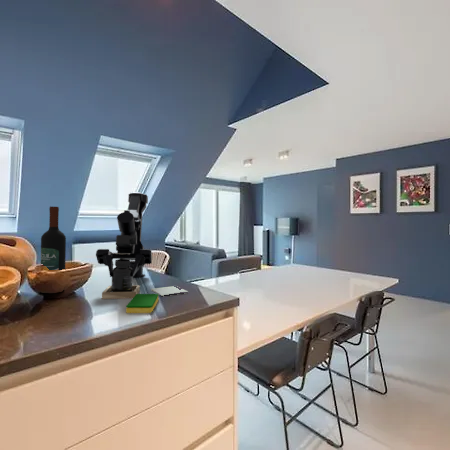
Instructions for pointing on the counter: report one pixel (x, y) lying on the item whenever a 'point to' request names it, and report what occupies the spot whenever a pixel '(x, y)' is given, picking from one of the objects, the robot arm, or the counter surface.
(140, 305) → the dish sponge
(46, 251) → the wine bottle
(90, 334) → the counter surface
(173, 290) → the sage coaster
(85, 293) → the counter surface
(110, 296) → the frame
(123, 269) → the supplement bottle
